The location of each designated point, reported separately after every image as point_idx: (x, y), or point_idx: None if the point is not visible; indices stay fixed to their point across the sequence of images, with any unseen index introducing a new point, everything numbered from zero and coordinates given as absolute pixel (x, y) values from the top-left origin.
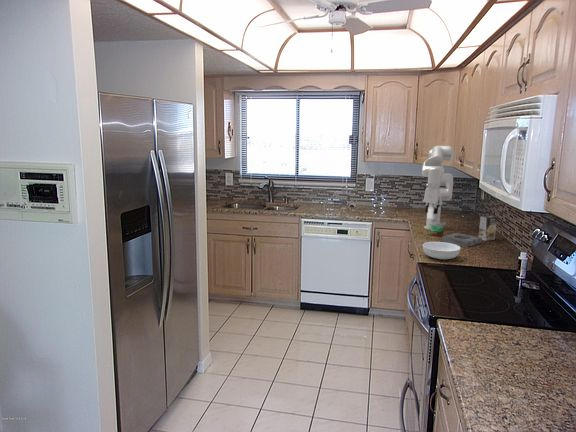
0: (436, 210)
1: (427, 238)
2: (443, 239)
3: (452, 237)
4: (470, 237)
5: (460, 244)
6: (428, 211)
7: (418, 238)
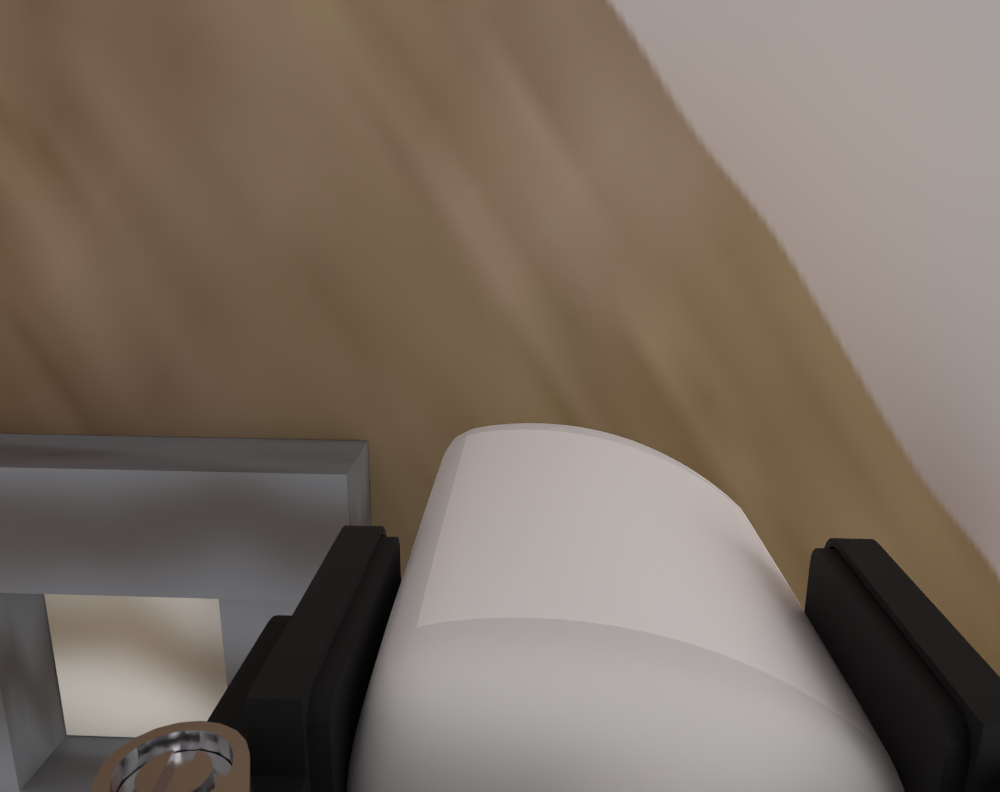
0: (237, 674)
1: (663, 444)
2: (329, 454)
3: (187, 551)
4: (35, 789)
5: (9, 440)
6: (729, 583)
7: (779, 308)
